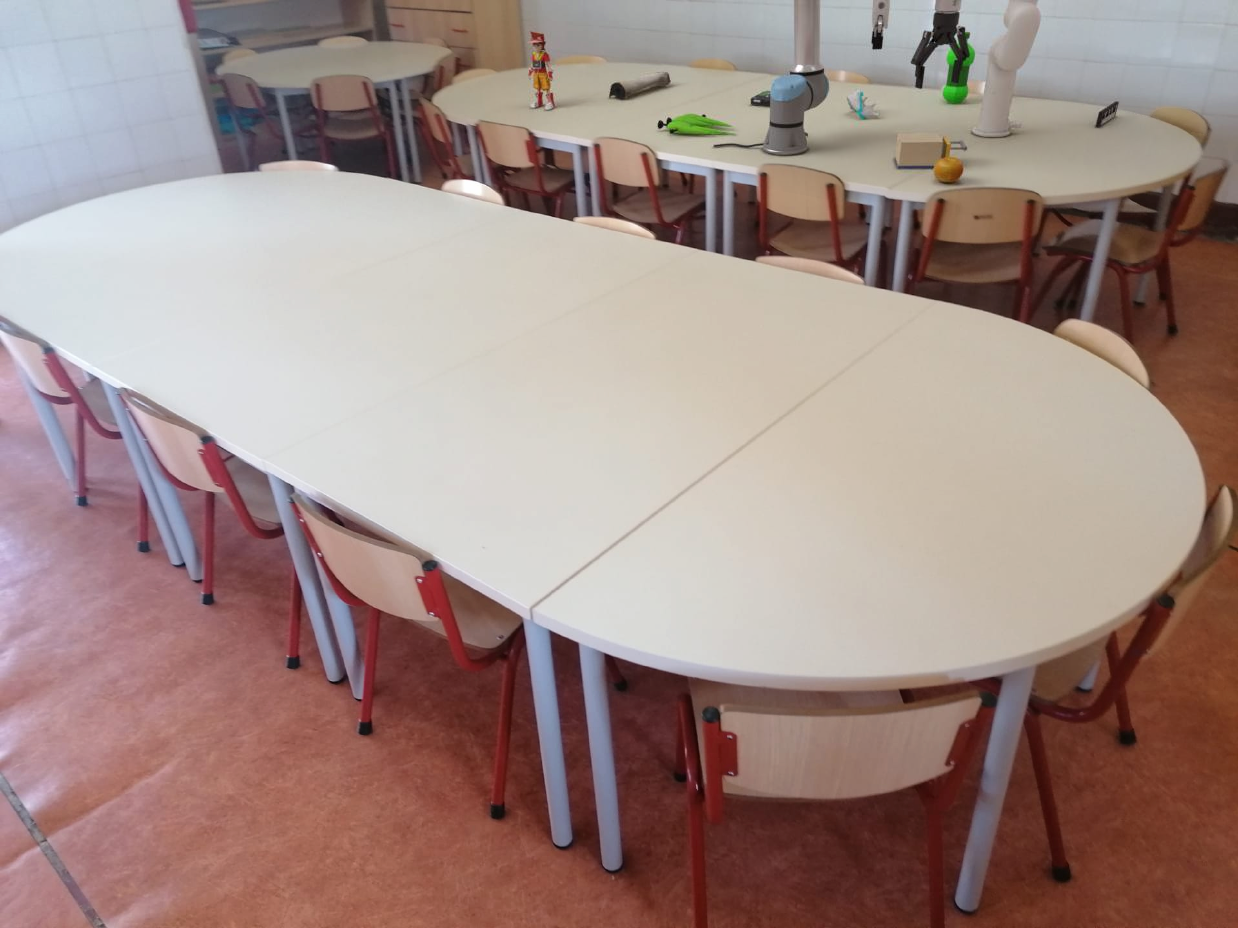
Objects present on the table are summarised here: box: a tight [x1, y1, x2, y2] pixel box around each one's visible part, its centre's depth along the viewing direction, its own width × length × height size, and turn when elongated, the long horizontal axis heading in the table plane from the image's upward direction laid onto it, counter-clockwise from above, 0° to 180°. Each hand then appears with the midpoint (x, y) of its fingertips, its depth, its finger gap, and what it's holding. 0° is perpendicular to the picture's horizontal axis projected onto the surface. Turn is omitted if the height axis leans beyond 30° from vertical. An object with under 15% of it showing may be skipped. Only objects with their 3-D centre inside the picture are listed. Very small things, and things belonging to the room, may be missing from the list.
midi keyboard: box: [1095, 100, 1120, 128], centre depth 320 cm, size 18×1×5 cm, turn 138°
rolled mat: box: [608, 71, 672, 101], centre depth 395 cm, size 30×9×10 cm
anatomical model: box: [846, 88, 881, 120], centre depth 344 cm, size 15×10×10 cm
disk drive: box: [750, 90, 771, 107], centre depth 369 cm, size 10×3×15 cm
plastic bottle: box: [942, 31, 976, 104], centre depth 348 cm, size 10×10×25 cm
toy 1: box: [527, 31, 556, 111], centre depth 374 cm, size 12×9×30 cm
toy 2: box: [657, 113, 735, 135], centre depth 338 cm, size 28×5×30 cm
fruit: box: [933, 156, 965, 183], centre depth 275 cm, size 8×9×8 cm
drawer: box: [941, 135, 968, 159], centre depth 290 cm, size 17×9×6 cm, turn 81°
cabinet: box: [894, 132, 943, 170], centre depth 291 cm, size 13×11×8 cm
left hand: (936, 85), depth 286 cm, fingers open, 13 cm apart
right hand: (876, 46), depth 306 cm, fingers open, 9 cm apart
